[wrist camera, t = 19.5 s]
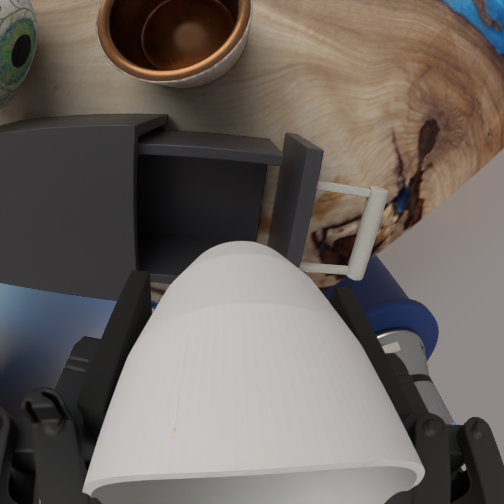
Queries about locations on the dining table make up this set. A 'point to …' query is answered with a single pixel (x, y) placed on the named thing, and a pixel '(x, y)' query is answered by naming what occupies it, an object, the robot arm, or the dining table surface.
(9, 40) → the decorative object
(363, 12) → the dining table surface
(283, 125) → the dining table surface
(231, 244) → the cup
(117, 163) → the cabinet
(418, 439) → the robot arm
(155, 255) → the drawer
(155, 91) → the dining table surface
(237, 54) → the planter
